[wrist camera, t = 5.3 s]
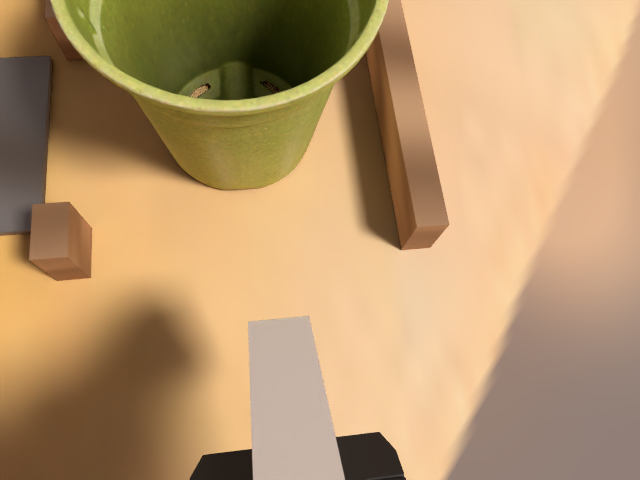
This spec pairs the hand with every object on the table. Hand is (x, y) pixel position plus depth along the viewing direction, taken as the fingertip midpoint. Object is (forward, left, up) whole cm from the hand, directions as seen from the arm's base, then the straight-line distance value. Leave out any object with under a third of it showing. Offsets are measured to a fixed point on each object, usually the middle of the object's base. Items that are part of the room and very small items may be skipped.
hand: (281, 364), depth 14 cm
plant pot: (+9, +6, -6) cm, 13 cm away
